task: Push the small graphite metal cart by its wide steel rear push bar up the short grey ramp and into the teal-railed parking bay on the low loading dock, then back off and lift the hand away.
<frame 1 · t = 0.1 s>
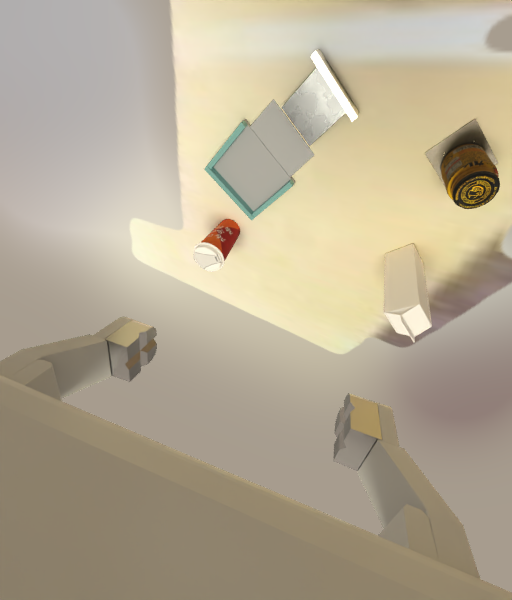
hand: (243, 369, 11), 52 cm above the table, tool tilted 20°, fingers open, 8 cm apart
paper cup: (230, 228, 71), on the table
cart: (317, 104, 47), on the table
condiment: (460, 157, 45), on the table
milk: (403, 257, 61), on the table
loading dock: (252, 171, 58), on the table
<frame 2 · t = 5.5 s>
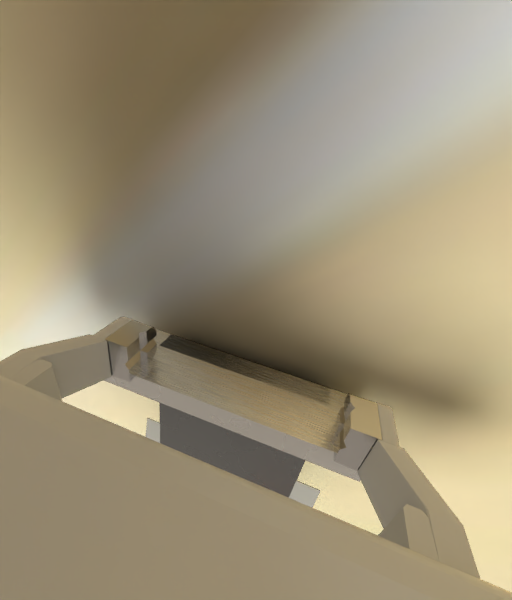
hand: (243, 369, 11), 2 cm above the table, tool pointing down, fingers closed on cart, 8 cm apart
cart: (238, 412, 15), on the table, touching gripper
loading dock: (210, 534, 23), on the table
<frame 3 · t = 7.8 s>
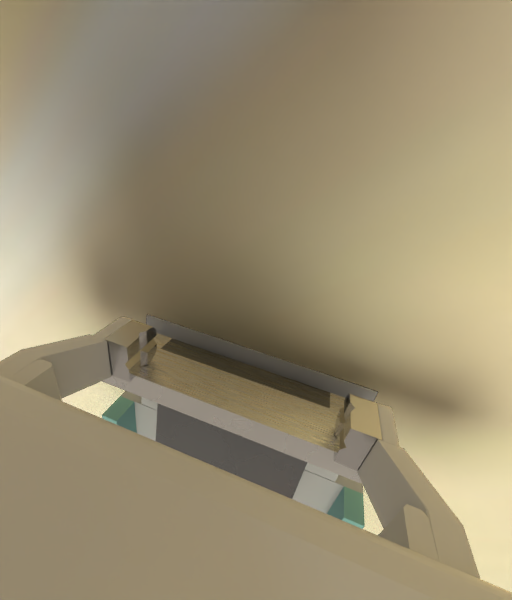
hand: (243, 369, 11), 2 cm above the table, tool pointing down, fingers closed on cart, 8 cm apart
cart: (236, 421, 15), resting on loading dock, tilted 5°, touching gripper
loading dock: (225, 481, 19), on the table
when the fingers open (2 cm above the table, at t = 8.7 s): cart stays where it is, resting on loading dock.
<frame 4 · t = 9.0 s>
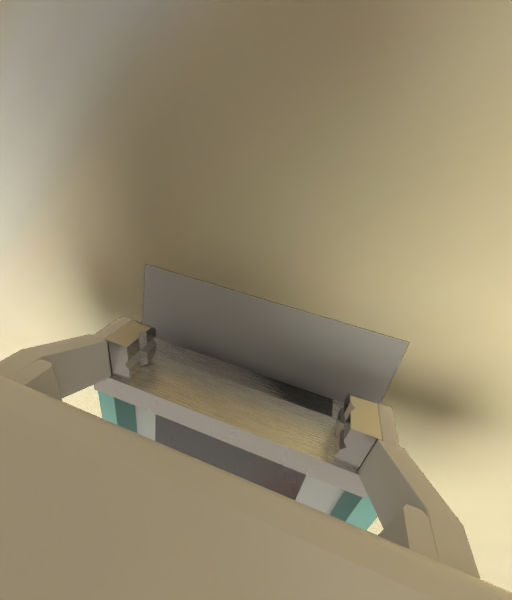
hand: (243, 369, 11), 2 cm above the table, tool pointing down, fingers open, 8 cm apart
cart: (236, 424, 15), point 1 cm above the table, touching gripper, loading dock
loading dock: (231, 460, 18), on the table
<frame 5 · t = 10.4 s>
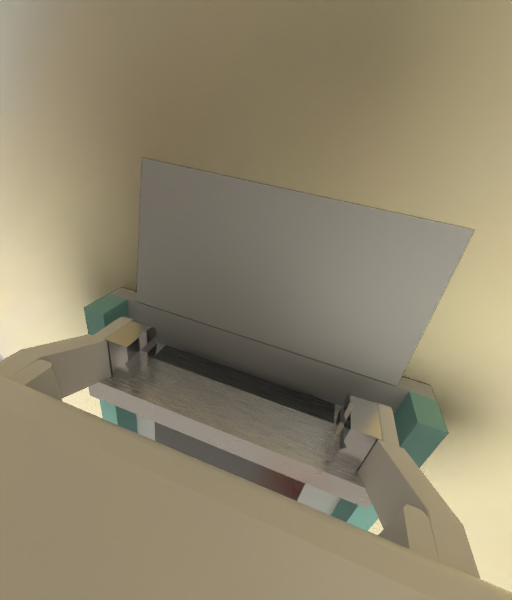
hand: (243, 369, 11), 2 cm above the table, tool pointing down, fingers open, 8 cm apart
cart: (236, 425, 15), point 1 cm above the table, touching gripper, loading dock
loading dock: (241, 415, 15), on the table
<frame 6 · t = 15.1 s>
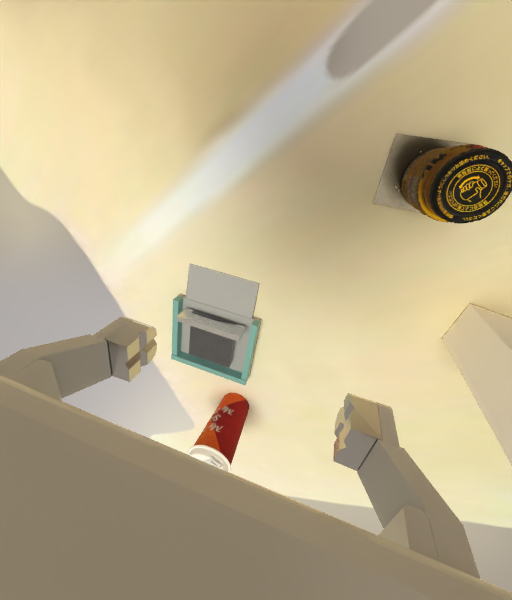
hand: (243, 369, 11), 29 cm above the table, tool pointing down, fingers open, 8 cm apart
paper cup: (236, 402, 56), on the table
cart: (214, 336, 48), point 1 cm above the table, touching loading dock
condiment: (422, 177, 30), on the table
milk: (477, 329, 36), on the table
loading dock: (216, 334, 49), on the table
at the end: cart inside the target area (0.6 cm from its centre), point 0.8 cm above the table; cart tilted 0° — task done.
